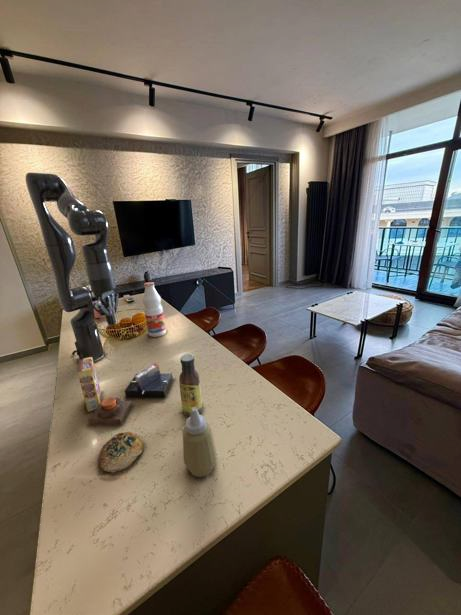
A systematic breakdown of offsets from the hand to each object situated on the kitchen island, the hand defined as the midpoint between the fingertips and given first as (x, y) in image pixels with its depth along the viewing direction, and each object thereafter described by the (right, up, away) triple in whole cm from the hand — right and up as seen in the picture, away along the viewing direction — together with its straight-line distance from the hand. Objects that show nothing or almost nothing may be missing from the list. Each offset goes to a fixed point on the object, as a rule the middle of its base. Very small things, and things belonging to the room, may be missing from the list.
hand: (112, 324), depth 89 cm
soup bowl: (-42, 0, +77) cm, 88 cm away
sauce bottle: (+29, -27, -7) cm, 41 cm away
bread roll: (+13, -34, -21) cm, 42 cm away
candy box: (-5, -27, -1) cm, 28 cm away
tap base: (+12, -24, +4) cm, 27 cm away
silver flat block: (+12, -21, +3) cm, 24 cm away
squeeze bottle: (+34, -34, -25) cm, 55 cm away
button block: (+3, -29, -7) cm, 30 cm away
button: (+3, -25, -8) cm, 27 cm away
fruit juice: (+2, -8, +48) cm, 49 cm away
